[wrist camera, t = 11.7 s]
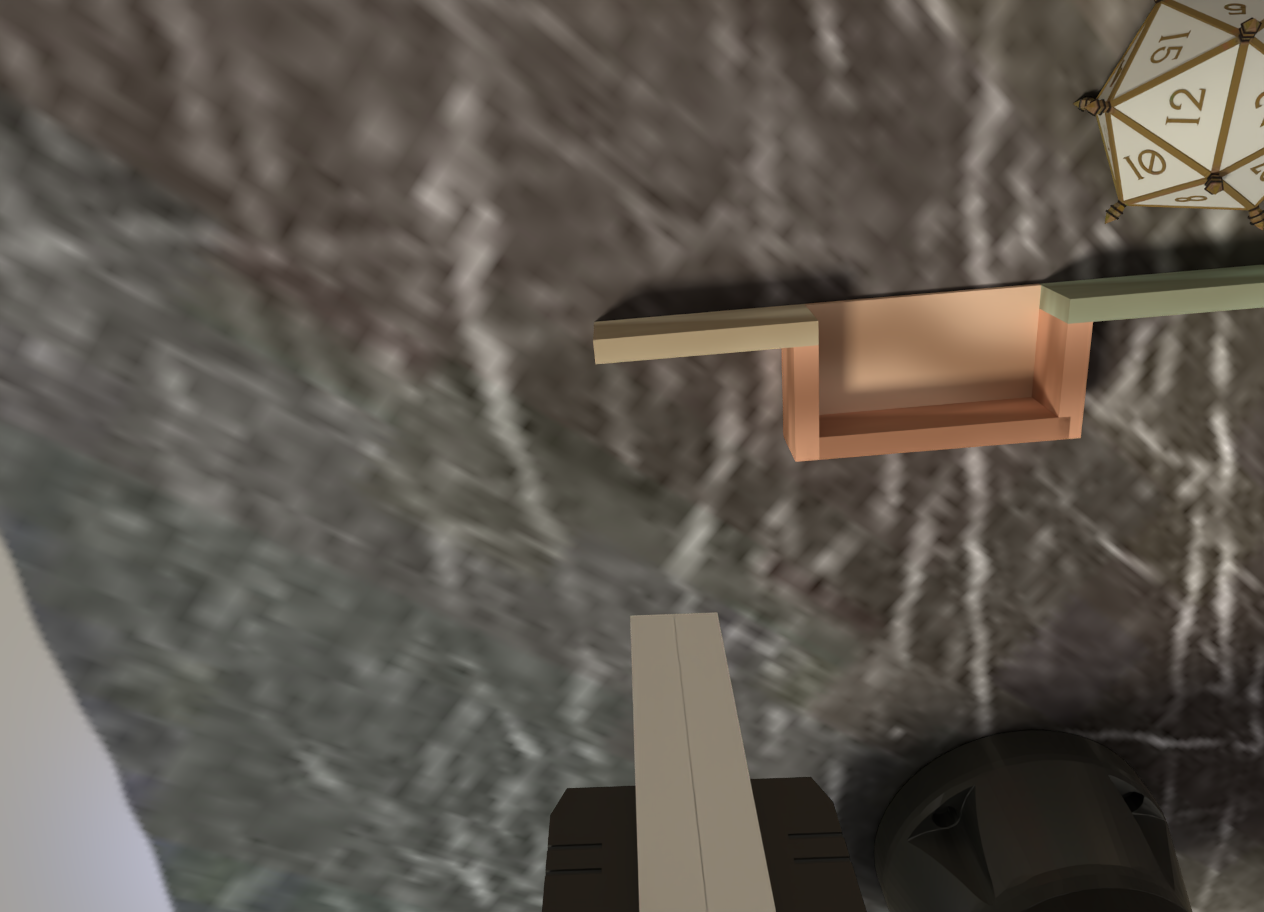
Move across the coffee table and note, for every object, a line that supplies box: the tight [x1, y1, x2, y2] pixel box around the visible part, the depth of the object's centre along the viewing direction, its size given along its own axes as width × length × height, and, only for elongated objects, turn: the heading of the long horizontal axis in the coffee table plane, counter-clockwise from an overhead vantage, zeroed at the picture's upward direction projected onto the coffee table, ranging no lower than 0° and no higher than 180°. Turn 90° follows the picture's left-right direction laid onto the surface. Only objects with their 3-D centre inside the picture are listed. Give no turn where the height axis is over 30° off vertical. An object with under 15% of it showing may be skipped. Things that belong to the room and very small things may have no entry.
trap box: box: [593, 264, 1264, 462], centre depth 34 cm, size 25×31×6 cm
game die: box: [1073, 0, 1264, 230], centre depth 33 cm, size 9×8×10 cm
